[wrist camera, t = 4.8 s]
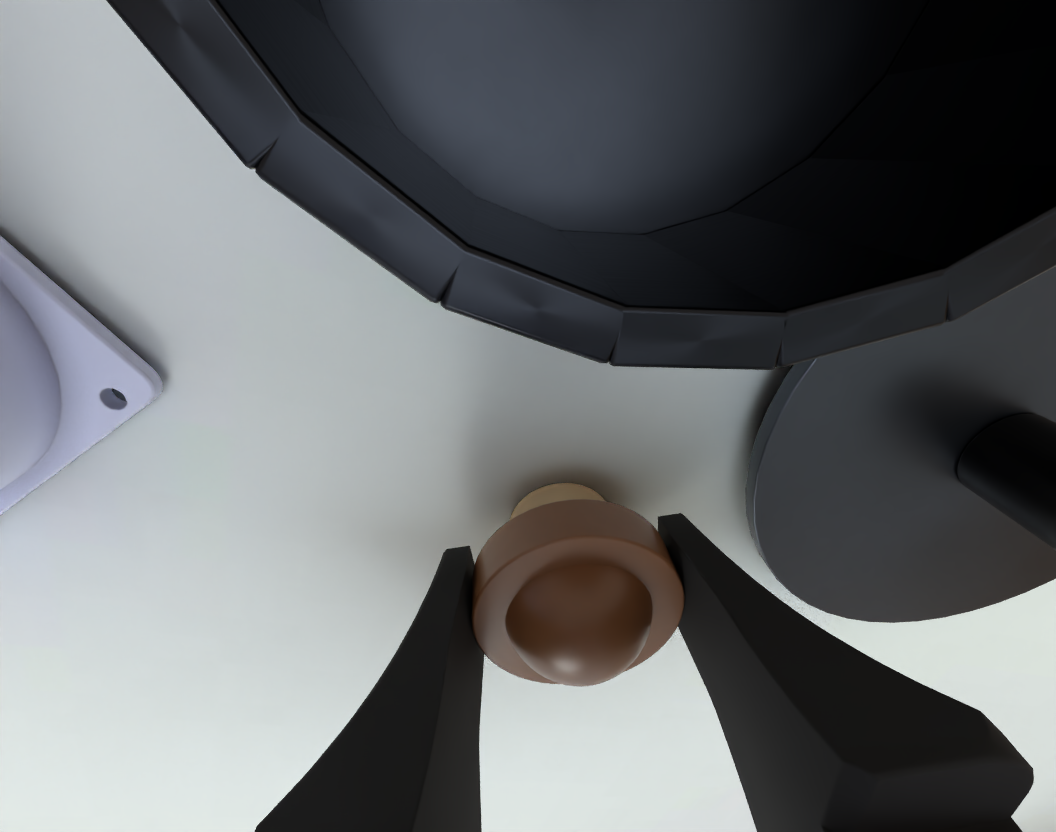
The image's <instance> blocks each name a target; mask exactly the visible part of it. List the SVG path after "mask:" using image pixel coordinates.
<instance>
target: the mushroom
mask: <svg viewBox="0 0 1056 832" xmlns="http://www.w3.org/2000/svg"><path fill="white" fill-rule="evenodd" d="M684 598H685V596H684V588H683V584H682V581H681V578H680V576H679V574H678V572H677V569H676V567H675V565H674V563H673V561H672V559H671V556H670V554H669V552H668V550H667V548H666V545H665V543H664V541H663V539H662V538H661V536H660V534H659V532H658V531H657V530H656V529H655V528H654V526H653V525H652V524H651V523H649V522H648V521H647V520H646V519H645V518H644V517H642V516H640V515H639V514H637V513H636V512H634V511H632V510H630V509H628V508H626V507H624V506H621V505H618V504H614V503H611V502H606V501H605V500H604V499H603V497H602V496H600V495H599V494H598V493H597V492H595V491H594V490H592V489H590V488H588V487H586V486H583V485H579V484H574V483H556V484H551V485H547V486H544V487H541V488H538V489H536V490H534V491H533V492H531V493H529V494H528V495H527V496H525V497H524V498H523V499H522V500H521V501H520V502H519V503H518V504H517V506H516V507H515V509H514V511H513V513H512V515H511V518H510V521H508V522H507V523H505V524H504V525H503V526H502V527H500V528H499V529H498V530H497V531H496V532H495V533H494V534H493V535H492V536H491V537H490V538H489V539H488V541H487V542H486V544H485V545H484V546H483V548H482V549H481V551H480V553H479V555H478V557H477V560H476V563H475V566H474V570H473V578H472V613H471V619H472V629H473V633H474V637H475V639H476V641H477V643H478V645H479V647H480V648H481V650H482V651H483V653H484V654H485V655H486V656H487V657H488V658H489V659H490V660H491V661H492V662H493V663H495V664H496V665H497V666H499V667H500V668H502V669H503V670H505V671H507V672H509V673H511V674H513V675H516V676H518V677H521V678H524V679H528V680H531V681H536V682H541V683H550V684H563V685H569V686H591V685H596V684H600V683H603V682H605V681H608V680H610V679H612V678H614V677H616V676H617V675H619V674H620V673H622V672H624V671H627V670H629V669H631V668H633V667H635V666H637V665H638V664H640V663H642V662H643V661H645V660H646V659H648V658H649V657H651V656H652V655H653V654H654V653H656V652H657V651H658V650H659V649H660V648H661V647H662V646H663V645H664V644H665V643H666V642H667V641H668V640H669V638H670V637H671V636H672V635H673V633H674V631H675V630H676V628H677V626H678V624H679V622H680V620H681V617H682V613H683V609H684Z"/></svg>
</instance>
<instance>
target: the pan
mask: <svg viewBox="0 0 1056 832" xmlns="http://www.w3.org/2000/svg"><path fill="white" fill-rule="evenodd" d="M106 1H107V2H108V3H109V4H110V5H111V7H112V8H113V9H114V10H115V11H116V13H117V14H118V15H119V16H120V17H121V18H122V20H123V21H124V22H125V23H126V24H127V26H128V27H129V28H130V29H131V30H132V32H133V33H134V34H135V35H136V36H137V38H138V39H139V40H140V41H141V42H142V43H143V45H144V46H145V47H146V48H147V49H148V51H149V52H150V53H151V54H152V55H153V57H154V58H155V59H156V60H157V61H158V63H159V64H160V65H161V66H162V67H163V68H164V70H165V71H166V72H167V73H168V74H169V76H170V77H171V78H172V79H173V80H174V82H175V83H176V84H177V85H178V86H179V87H180V89H181V90H182V91H183V92H184V93H185V95H186V96H187V97H188V98H189V99H190V101H191V102H192V103H193V104H194V105H195V107H196V108H197V109H198V110H199V111H200V112H201V114H202V115H203V116H204V117H205V118H206V120H207V121H208V122H209V123H210V124H211V126H212V127H213V128H214V129H215V130H216V132H217V133H218V134H219V135H220V136H221V137H222V139H223V140H224V141H225V142H226V143H227V145H228V146H229V147H230V148H231V149H232V151H233V152H234V153H235V154H236V155H237V157H238V158H239V159H240V160H241V161H242V162H243V164H244V165H245V166H247V167H248V168H250V169H256V173H257V174H258V176H259V177H260V178H261V179H262V180H263V181H265V182H266V183H267V184H269V185H270V186H272V187H273V188H274V189H276V190H277V191H278V192H280V193H281V194H283V195H284V196H285V197H287V198H288V199H289V200H291V201H292V202H294V203H295V204H296V205H298V206H299V207H301V208H302V209H303V210H305V211H306V212H307V213H309V214H310V215H312V216H313V217H314V218H316V219H317V220H318V221H320V222H321V223H323V224H324V225H325V226H327V227H328V228H330V229H331V230H332V231H334V232H335V233H336V234H338V235H339V236H341V237H342V238H343V239H345V240H346V241H347V242H349V243H350V244H352V245H353V246H354V247H356V248H357V249H359V250H360V251H361V252H363V253H364V254H365V255H367V256H368V257H370V258H371V259H372V260H374V261H375V262H376V263H378V264H379V265H381V266H382V267H383V268H385V269H386V270H388V271H389V272H390V273H392V274H393V275H394V276H396V277H397V278H399V279H400V280H401V281H403V282H404V283H405V284H407V285H408V286H410V287H411V288H412V289H414V290H415V291H417V292H418V293H419V294H421V295H422V296H423V297H425V298H426V299H428V300H429V301H430V302H434V303H438V302H440V304H441V306H442V307H443V308H445V309H446V310H449V311H451V312H454V313H457V314H460V315H463V316H466V317H469V318H472V319H475V320H477V321H480V322H483V323H486V324H489V325H492V326H495V327H498V328H501V329H504V330H506V331H509V332H512V333H515V334H518V335H521V336H524V337H527V338H530V339H532V340H535V341H538V342H541V343H544V344H547V345H550V346H553V347H556V348H558V349H561V350H564V351H567V352H570V353H573V354H576V355H579V356H582V357H584V358H587V359H590V360H593V361H596V362H599V363H608V362H609V364H610V365H612V366H624V367H668V368H711V369H755V370H772V369H774V368H775V367H787V366H790V365H794V364H798V363H802V362H805V361H809V360H813V359H817V358H820V357H824V356H828V355H832V354H835V353H839V352H843V351H847V350H850V349H854V348H858V347H862V346H865V345H869V344H873V343H877V342H880V341H884V340H888V339H891V338H895V337H899V336H903V335H906V334H910V333H914V332H918V331H921V330H925V329H929V328H933V327H936V326H940V325H942V324H944V323H945V322H952V321H955V320H957V319H959V318H961V317H963V316H964V315H966V314H968V313H970V312H972V311H974V310H976V309H977V308H979V307H981V306H983V305H985V304H987V303H989V302H990V301H992V300H994V299H996V298H998V297H1000V296H1002V295H1003V294H1005V293H1007V292H1009V291H1011V290H1013V289H1015V288H1016V287H1018V286H1020V285H1022V284H1024V283H1026V282H1028V281H1029V280H1031V279H1033V278H1035V277H1037V276H1039V275H1041V274H1042V273H1044V272H1046V271H1048V270H1050V269H1052V268H1054V267H1055V266H1056V0H106Z"/></svg>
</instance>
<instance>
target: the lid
mask: <svg viewBox="0 0 1056 832" xmlns="http://www.w3.org/2000/svg"><path fill="white" fill-rule="evenodd" d="M745 490H746V514H747V519H748V523H749V528H750V532H751V536H752V538H753V540H754V543H755V545H756V547H757V550H758V552H759V554H760V555H761V557H762V558H763V560H764V561H765V563H766V564H767V566H768V567H769V569H770V570H771V571H772V573H773V574H774V576H775V577H776V579H777V580H778V581H779V582H780V583H781V584H782V585H783V586H784V587H785V588H786V589H788V590H789V591H790V592H791V593H792V594H794V595H795V596H797V597H798V598H800V599H801V600H803V601H804V602H806V603H807V604H809V605H811V606H813V607H816V608H818V609H820V610H822V611H825V612H827V613H830V614H834V615H837V616H841V617H844V618H848V619H855V620H862V621H868V622H890V623H895V622H912V621H922V620H929V619H936V618H943V617H948V616H952V615H956V614H961V613H965V612H970V611H973V610H976V609H980V608H983V607H986V606H989V605H993V604H996V603H999V602H1002V601H1004V600H1007V599H1009V598H1012V597H1015V596H1017V595H1020V594H1023V593H1025V592H1027V591H1030V590H1032V589H1034V588H1036V587H1038V586H1041V585H1043V584H1045V583H1047V582H1049V581H1052V580H1054V579H1056V266H1055V267H1054V268H1052V269H1050V270H1048V271H1046V272H1044V273H1042V274H1041V275H1039V276H1037V277H1035V278H1033V279H1031V280H1029V281H1028V282H1026V283H1024V284H1022V285H1020V286H1018V287H1016V288H1015V289H1013V290H1011V291H1009V292H1007V293H1005V294H1003V295H1002V296H1000V297H998V298H996V299H994V300H992V301H990V302H989V303H987V304H985V305H983V306H981V307H979V308H977V309H976V310H974V311H972V312H970V313H968V314H966V315H964V316H963V317H961V318H959V319H957V320H955V321H952V322H945V323H944V324H942V325H940V326H936V327H933V328H929V329H925V330H921V331H918V332H914V333H910V334H906V335H903V336H899V337H895V338H891V339H888V340H884V341H880V342H877V343H873V344H869V345H865V346H862V347H858V348H854V349H850V350H847V351H843V352H839V353H835V354H832V355H828V356H824V357H820V358H817V359H813V360H809V361H805V362H802V363H798V364H794V365H793V367H792V368H791V369H790V371H789V372H788V374H787V375H786V377H785V379H784V380H783V382H782V384H781V386H780V387H779V389H778V391H777V393H776V394H775V396H774V398H773V400H772V401H771V403H770V405H769V407H768V409H767V412H766V414H765V416H764V419H763V421H762V424H761V426H760V428H759V431H758V433H757V435H756V439H755V443H754V446H753V450H752V453H751V457H750V461H749V465H748V473H747V481H746V489H745Z"/></svg>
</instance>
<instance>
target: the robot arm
mask: <svg viewBox="0 0 1056 832" xmlns="http://www.w3.org/2000/svg"><path fill="white" fill-rule="evenodd" d="M112 389H116V390H117V391H119V392H121V393H122V394H123V395H124V396H125V398H126V401H123V400H121V399H119V398H117V397H116V396H115V394H114V393H113V391H112ZM162 389H163V383H162V380H161V377H160V376H159V375H158V373H157V372H156V371H155V370H154V369H153V368H152V367H151V366H150V365H149V364H147V363H146V362H145V361H144V360H143V359H142V358H141V357H139V356H138V355H137V354H136V353H135V352H134V351H133V350H131V349H130V348H129V347H128V346H127V345H126V344H124V343H123V342H122V341H121V340H120V339H119V338H118V337H116V336H115V335H114V334H113V333H112V332H111V331H110V330H108V329H107V328H106V327H105V326H104V325H103V324H101V323H100V322H99V321H98V320H97V319H96V318H95V317H93V316H92V315H91V314H90V313H89V312H88V311H87V310H85V309H84V308H83V307H82V306H81V305H80V304H79V303H77V302H76V301H75V300H74V299H73V298H72V297H70V296H69V295H68V294H67V293H66V292H65V291H64V290H62V289H61V288H60V287H59V286H58V285H57V284H56V283H54V282H53V281H52V280H51V279H50V278H49V277H47V276H46V275H45V274H44V273H43V272H42V271H41V270H39V269H38V268H37V267H36V266H35V265H34V264H33V263H31V262H30V261H29V260H28V259H27V258H26V257H24V256H23V255H22V254H21V253H20V252H19V251H18V250H16V249H15V248H14V247H13V246H12V245H11V244H10V243H8V242H7V241H6V240H5V239H4V238H3V237H2V236H0V515H1V514H3V513H4V512H5V511H7V510H8V509H9V508H11V507H12V506H13V505H15V504H16V503H17V502H19V501H20V500H21V499H23V498H24V497H25V496H27V495H28V494H29V493H31V492H32V491H33V490H35V489H36V488H37V487H39V486H40V485H41V484H43V483H44V482H45V481H47V480H48V479H49V478H51V477H52V476H53V475H55V474H56V473H57V472H59V471H60V470H61V469H63V468H64V467H65V466H67V465H68V464H69V463H71V462H72V461H73V460H75V459H76V458H77V457H79V456H80V455H81V454H83V453H84V452H85V451H87V450H88V449H89V448H91V447H92V446H93V445H95V444H96V443H97V442H99V441H100V440H101V439H103V438H104V437H105V436H107V435H108V434H109V433H111V432H112V431H113V430H115V429H116V428H118V427H119V426H120V425H122V424H123V423H124V422H126V421H127V420H128V419H130V418H131V417H132V416H134V415H135V414H136V413H138V412H139V411H140V410H142V409H143V408H144V407H146V406H147V405H148V404H150V403H151V402H152V401H154V400H155V399H156V398H157V397H158V396H159V395H160V394H161V393H162ZM658 532H659V534H660V536H661V538H662V539H663V541H664V543H665V545H666V548H667V550H668V552H669V554H670V556H671V559H672V561H673V563H674V565H675V567H676V569H677V572H678V574H679V576H680V578H681V581H682V584H683V588H684V596H685V598H684V609H683V613H682V617H681V620H680V622H679V624H678V627H679V630H680V632H681V634H682V636H683V638H684V641H685V643H686V645H687V647H688V649H689V651H690V654H691V656H692V658H693V660H694V662H695V664H696V667H697V669H698V671H699V673H700V675H701V677H702V680H703V682H704V684H705V686H706V688H707V690H708V693H709V695H710V698H711V700H712V702H713V705H714V707H715V710H716V713H717V715H718V718H719V721H720V724H721V727H722V729H723V732H724V735H725V738H726V741H727V743H728V746H729V749H730V752H731V755H732V758H733V761H734V763H735V766H736V769H737V772H738V775H739V778H740V781H741V784H742V787H743V790H744V793H745V796H746V799H747V802H748V805H749V808H750V811H751V814H752V817H753V820H754V823H755V826H756V829H757V832H1022V830H1021V829H1020V828H1019V827H1018V825H1017V824H1016V823H1015V822H1014V820H1013V819H1012V818H1011V816H1012V814H1013V813H1014V812H1015V810H1016V809H1017V808H1018V806H1019V805H1020V803H1021V802H1022V801H1023V799H1024V798H1025V797H1026V795H1027V794H1028V793H1029V791H1030V789H1031V787H1032V785H1033V780H1034V776H1033V768H1032V767H1031V766H1030V765H1029V763H1028V762H1027V761H1026V760H1025V759H1024V758H1023V757H1022V756H1021V754H1020V753H1019V752H1018V751H1017V750H1016V749H1015V747H1014V746H1013V745H1012V744H1011V743H1010V742H1009V740H1008V739H1007V738H1006V737H1005V736H1004V735H1003V733H1002V732H1001V731H1000V730H999V729H998V728H997V727H996V726H995V725H994V724H993V723H992V722H991V721H990V720H989V719H988V718H987V717H986V716H985V715H984V714H983V713H982V712H981V711H979V710H977V709H975V708H973V707H970V706H968V705H966V704H964V703H962V702H960V701H957V700H955V699H953V698H951V697H949V696H946V695H944V694H942V693H940V692H938V691H936V690H933V689H931V688H929V687H927V686H925V685H922V684H920V683H918V682H916V681H914V680H912V679H910V678H908V677H907V676H905V675H903V674H901V673H899V672H897V671H895V670H893V669H891V668H889V667H887V666H885V665H883V664H881V663H880V662H878V661H876V660H874V659H872V658H871V657H869V656H867V655H865V654H864V653H862V652H860V651H858V650H857V649H855V648H853V647H852V646H850V645H848V644H846V643H845V642H843V641H841V640H840V639H838V638H836V637H835V636H833V635H831V634H829V633H828V632H826V631H825V630H823V629H822V628H820V627H819V626H817V625H815V624H814V623H812V622H811V621H809V620H808V619H807V618H805V617H804V616H802V615H801V614H799V613H798V612H796V611H795V610H793V609H792V608H791V607H789V606H788V605H787V604H785V603H784V602H782V601H781V600H780V599H778V598H777V597H776V596H774V595H773V594H772V593H771V592H769V591H768V590H767V589H766V588H764V587H763V586H762V585H760V584H759V583H758V582H757V581H755V580H754V579H753V578H752V577H751V576H749V575H748V574H747V573H746V572H745V571H743V570H742V569H741V568H740V567H739V566H738V565H737V564H735V563H734V562H733V561H732V560H731V559H730V558H728V557H727V556H726V555H725V554H724V553H723V552H722V551H721V550H720V549H718V548H717V547H716V546H715V545H714V544H713V543H712V542H711V541H710V540H709V539H708V538H707V537H706V536H705V535H704V534H703V533H701V532H700V531H699V530H698V529H697V528H696V527H695V526H694V525H693V524H692V523H691V522H690V521H689V520H688V519H687V518H686V517H685V516H684V515H683V514H681V513H679V514H673V515H666V516H660V517H658ZM474 566H475V565H474V561H473V557H472V553H471V549H470V546H465V547H458V548H452V549H447V550H446V551H445V552H444V553H443V556H442V559H441V561H440V564H439V567H438V569H437V572H436V574H435V576H434V579H433V581H432V583H431V586H430V588H429V590H428V592H427V594H426V597H425V599H424V601H423V603H422V605H421V607H420V609H419V611H418V613H417V615H416V617H415V619H414V621H413V623H412V625H411V626H410V628H409V630H408V632H407V634H406V635H405V637H404V639H403V641H402V643H401V644H400V646H399V648H398V650H397V652H396V653H395V655H394V657H393V658H392V660H391V662H390V663H389V665H388V666H387V668H386V670H385V671H384V673H383V674H382V676H381V677H380V679H379V680H378V682H377V683H376V685H375V686H374V688H373V689H372V691H371V692H370V694H369V695H368V696H367V698H366V699H365V700H364V702H363V703H362V705H361V706H360V707H359V709H358V710H357V712H356V713H355V714H354V716H353V717H352V718H351V720H350V721H349V722H348V724H347V725H346V726H345V728H344V729H343V730H342V731H341V733H340V734H339V735H338V736H337V737H336V739H335V740H334V741H333V742H332V743H331V745H330V746H329V747H328V748H327V750H326V751H325V752H324V753H323V754H322V756H321V757H320V758H319V759H318V760H317V762H316V763H315V764H314V765H313V766H312V768H311V769H310V770H309V771H308V772H307V773H306V774H305V776H304V777H303V778H302V779H301V780H300V781H299V782H298V783H297V784H296V785H295V786H294V787H293V789H292V790H291V791H290V792H289V793H288V794H287V795H286V796H285V797H284V798H283V799H282V800H281V801H280V802H279V803H278V805H277V806H276V807H275V808H274V809H273V810H272V811H271V812H270V813H269V814H268V815H267V816H266V817H265V818H264V819H263V820H262V821H261V822H260V823H259V824H258V825H257V827H256V830H255V832H481V802H480V765H479V727H480V710H481V695H482V679H483V663H484V653H483V651H482V650H481V648H480V647H479V645H478V643H477V641H476V639H475V637H474V633H473V629H472V619H471V613H472V578H473V570H474Z"/></svg>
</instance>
